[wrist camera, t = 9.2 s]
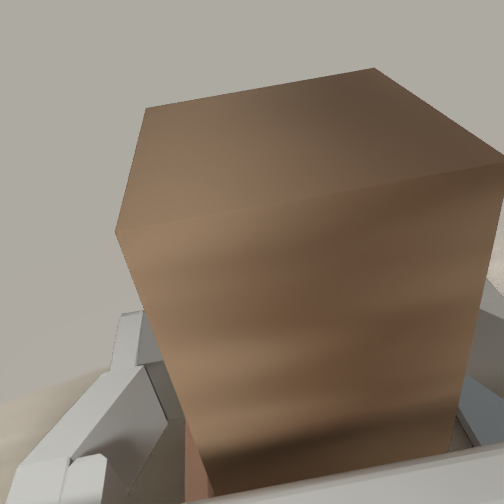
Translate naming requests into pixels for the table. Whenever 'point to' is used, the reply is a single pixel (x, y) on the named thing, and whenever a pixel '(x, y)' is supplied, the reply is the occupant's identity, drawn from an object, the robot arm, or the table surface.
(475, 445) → the rubber mat
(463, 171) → the walnut block
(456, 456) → the robot arm
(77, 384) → the table surface
